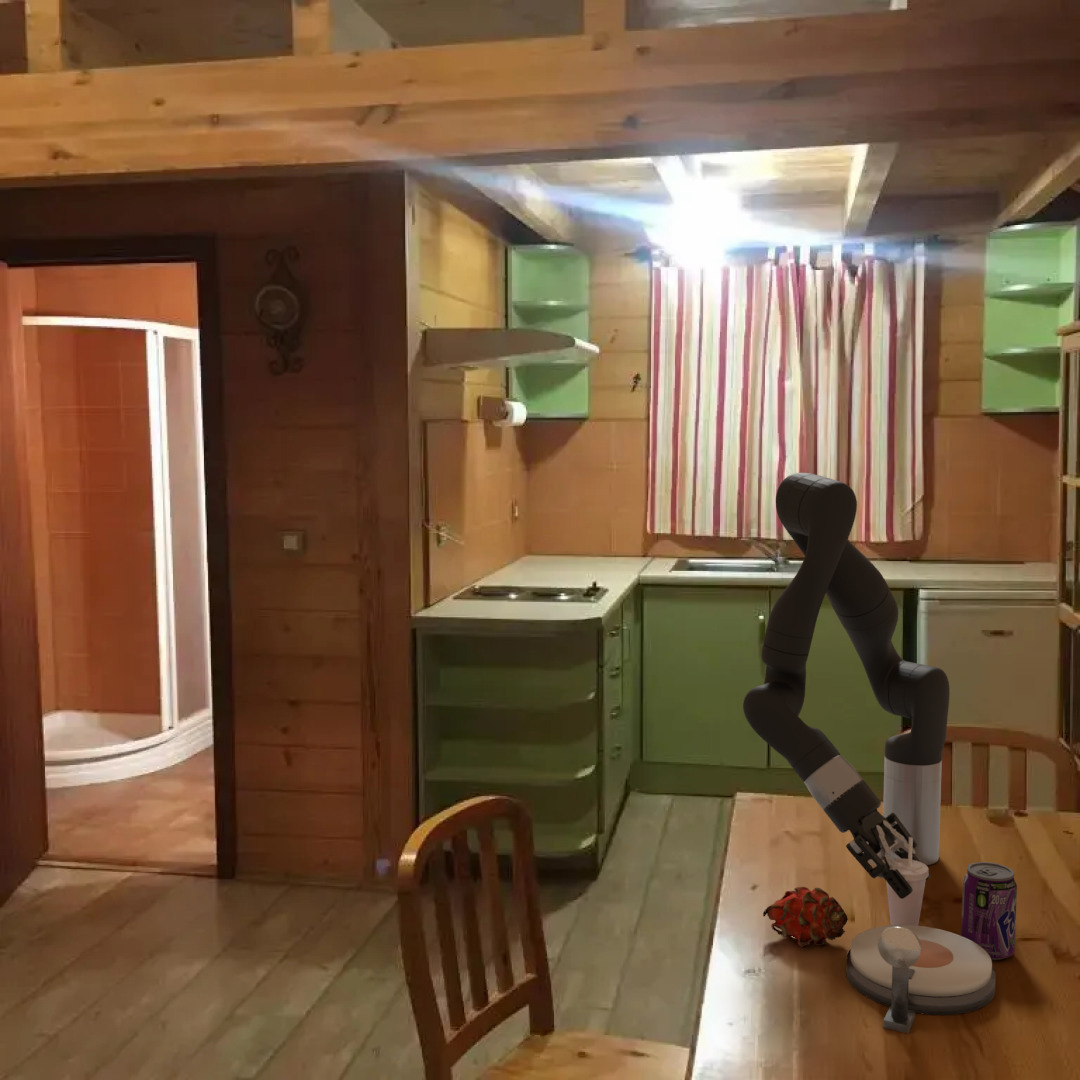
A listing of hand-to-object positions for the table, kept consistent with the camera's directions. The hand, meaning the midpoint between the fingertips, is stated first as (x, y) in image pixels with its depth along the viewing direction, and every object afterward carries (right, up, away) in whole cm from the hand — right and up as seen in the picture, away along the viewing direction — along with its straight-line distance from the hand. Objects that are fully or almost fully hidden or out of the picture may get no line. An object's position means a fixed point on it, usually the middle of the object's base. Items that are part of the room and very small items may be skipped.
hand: (916, 887), depth 179 cm
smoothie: (-1, -7, +2) cm, 7 cm away
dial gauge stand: (-10, -10, -25) cm, 29 cm away
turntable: (-4, -6, -14) cm, 16 cm away
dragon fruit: (-17, -7, -2) cm, 18 cm away
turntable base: (-4, -8, -14) cm, 17 cm away
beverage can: (+8, -8, -6) cm, 13 cm away
